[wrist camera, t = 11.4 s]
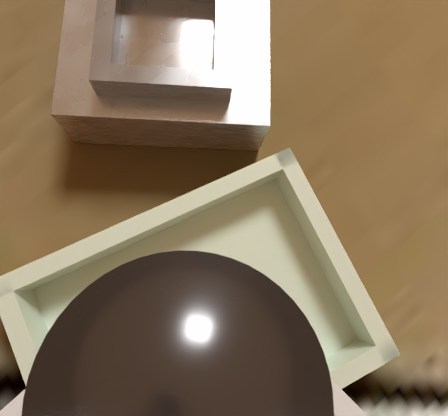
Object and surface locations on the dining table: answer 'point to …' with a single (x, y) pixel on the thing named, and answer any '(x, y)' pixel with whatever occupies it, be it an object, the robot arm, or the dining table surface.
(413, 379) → the dining table surface
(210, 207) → the tray
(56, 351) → the dome-capped glass cylinder
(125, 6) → the block
